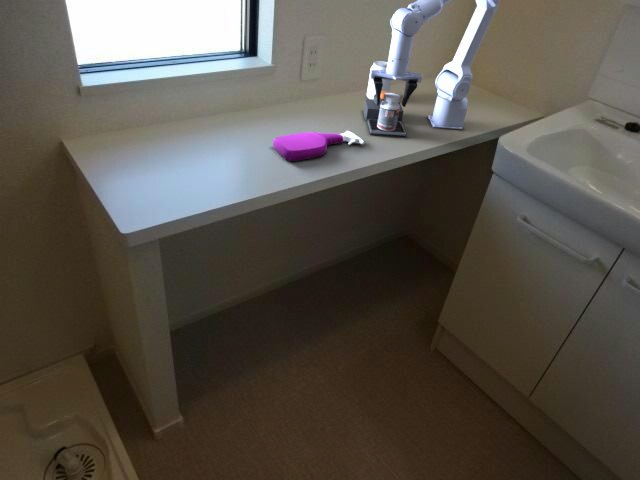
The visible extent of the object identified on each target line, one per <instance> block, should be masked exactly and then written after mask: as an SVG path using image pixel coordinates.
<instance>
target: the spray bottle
mask: <svg viewBox="0 0 640 480" xmlns="http://www.w3.org/2000/svg"><path fill="white" fill-rule="evenodd" d="M343 142H348V143H347V145H348V146H350V145H352V144H360V145H364V144H365V141H364V140H363V138H361V137H359V136H358V135H357V134H355V133H354V132H351V131H349V130H346V131H345V132H343V133H332V132H331V133H329V132H328V133H327V132H316V131H310V132H300V133H299V132H298V133H292V134H286V135H281V136H278V137H275V138H274V139H273V141H272V146H273V148H274V150H275V151H277V152H278V154H280V155H281V156H282V157H283V158H284V159H285V160H287V161H289V162H295V161H302V160H307V159H314V158H318V157H321V156H323V155H324V154H326V152H327V150H328V146H330V145H335V144H340V145H341V144H342V143H343Z"/></svg>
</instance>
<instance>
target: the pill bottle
mask: <svg viewBox="0 0 640 480" xmlns="http://www.w3.org/2000/svg"><path fill="white" fill-rule="evenodd" d="M398 102H401V95H399V94H398V93H394V92H389V93H386V94H384V101H383V102H382V103H381V106H380V112H379V117H378V123H377V127H378V128H379V129H381V130H383V131H394V130H395V129H396V125H397V120H398V115H399V110H400V105H401V104H400V105H399V103H398Z"/></svg>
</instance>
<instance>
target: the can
mask: <svg viewBox="0 0 640 480" xmlns="http://www.w3.org/2000/svg"><path fill="white" fill-rule="evenodd" d="M387 64H388V61H383V60H376V61H373V63H372V65H371V67H370V70H387ZM382 80H383V81H382V83H383V86H382V90H381V91H387V92H389V93H390V91H391V85H392V80H388V79H382ZM375 94H376V91H375V85H374V81H373V79H370V77H369V78H368V85H367V91H366V97H367V99H374V95H375Z"/></svg>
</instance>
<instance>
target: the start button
mask: <svg viewBox="0 0 640 480" xmlns="http://www.w3.org/2000/svg"><path fill="white" fill-rule="evenodd" d="M386 93H390V91H389V92H387V91H381V96H380V98H381V99H384V94H386Z"/></svg>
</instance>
